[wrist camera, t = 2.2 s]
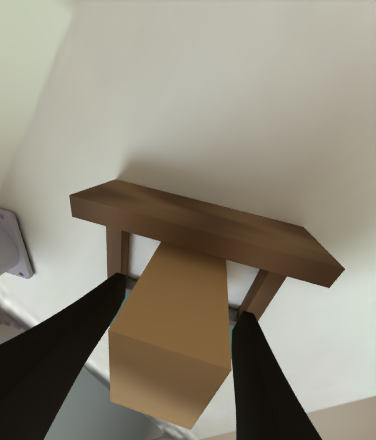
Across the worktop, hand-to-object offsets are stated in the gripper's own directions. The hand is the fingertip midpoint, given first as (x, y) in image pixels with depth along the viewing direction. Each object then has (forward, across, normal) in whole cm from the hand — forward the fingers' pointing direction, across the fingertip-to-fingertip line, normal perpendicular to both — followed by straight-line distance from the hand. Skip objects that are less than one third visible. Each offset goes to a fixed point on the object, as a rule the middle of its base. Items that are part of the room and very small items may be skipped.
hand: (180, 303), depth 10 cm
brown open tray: (+4, 0, 0) cm, 4 cm away
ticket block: (+4, 0, 0) cm, 4 cm away
